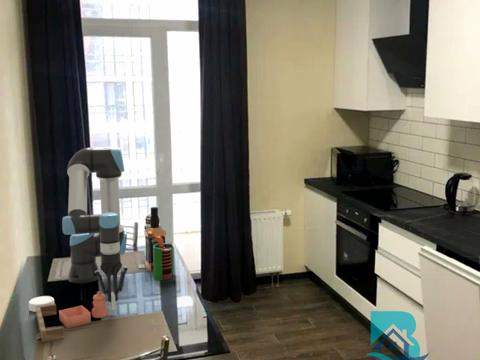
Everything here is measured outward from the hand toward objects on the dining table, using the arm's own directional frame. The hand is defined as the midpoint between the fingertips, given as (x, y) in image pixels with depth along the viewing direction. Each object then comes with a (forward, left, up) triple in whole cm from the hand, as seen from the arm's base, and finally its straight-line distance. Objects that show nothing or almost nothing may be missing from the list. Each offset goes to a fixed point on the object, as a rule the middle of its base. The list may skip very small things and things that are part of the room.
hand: (113, 308), depth 210 cm
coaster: (-20, -26, -3) cm, 33 cm away
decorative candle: (-65, +35, -2) cm, 74 cm away
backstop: (+2, -25, -2) cm, 25 cm away
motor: (-35, +31, -2) cm, 47 cm away
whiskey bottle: (-50, +32, -2) cm, 60 cm away
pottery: (0, -11, -3) cm, 11 cm away
